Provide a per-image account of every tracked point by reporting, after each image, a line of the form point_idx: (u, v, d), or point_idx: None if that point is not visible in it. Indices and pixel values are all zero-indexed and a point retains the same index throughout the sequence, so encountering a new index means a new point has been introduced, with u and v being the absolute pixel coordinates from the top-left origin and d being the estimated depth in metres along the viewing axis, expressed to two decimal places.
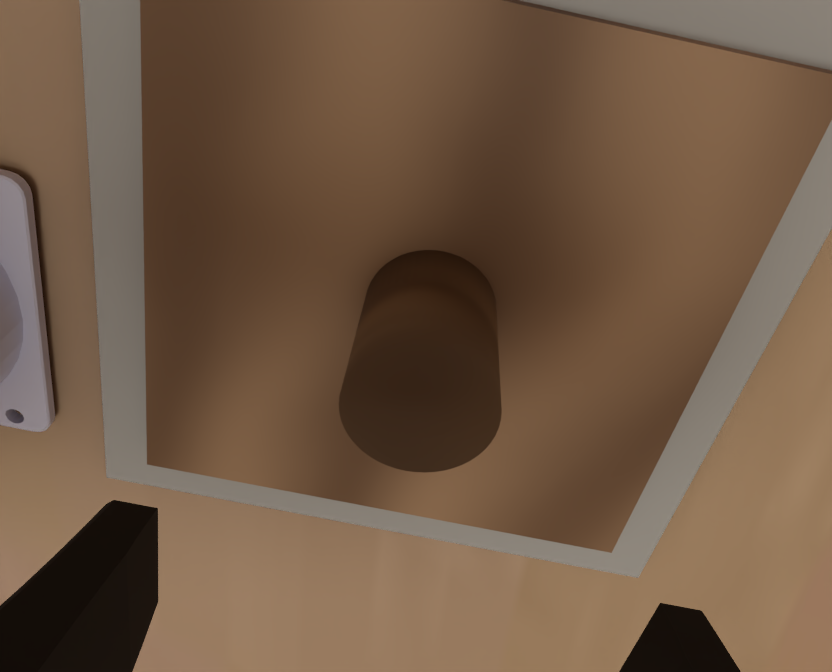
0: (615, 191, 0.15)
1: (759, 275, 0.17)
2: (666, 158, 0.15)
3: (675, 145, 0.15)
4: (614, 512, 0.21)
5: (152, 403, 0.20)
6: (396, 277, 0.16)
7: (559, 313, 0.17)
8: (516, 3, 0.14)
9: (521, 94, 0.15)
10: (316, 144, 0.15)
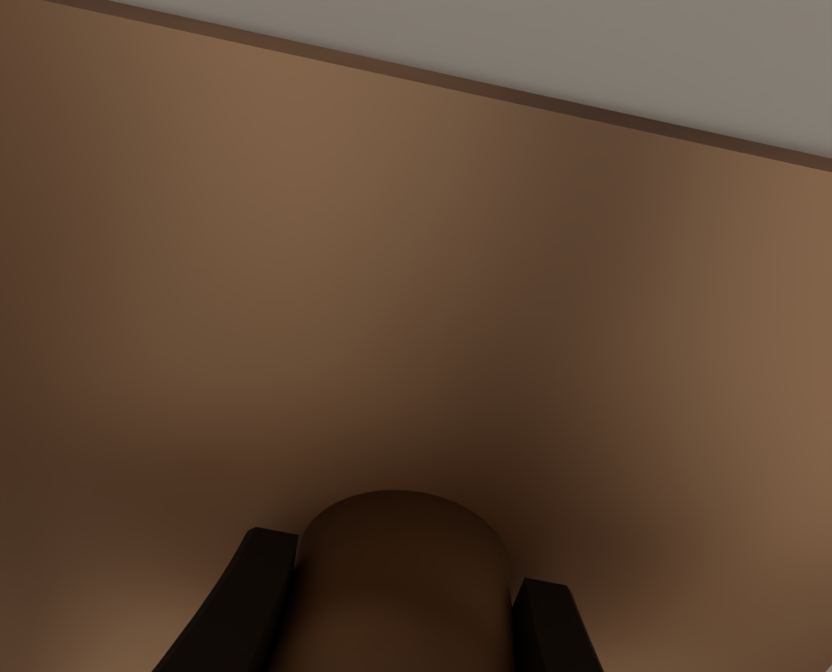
0: (719, 416, 0.09)
1: None
2: (816, 370, 0.08)
3: None
4: None
5: None
6: (340, 558, 0.09)
7: (612, 578, 0.11)
8: (555, 110, 0.07)
9: (560, 266, 0.08)
10: (198, 336, 0.09)
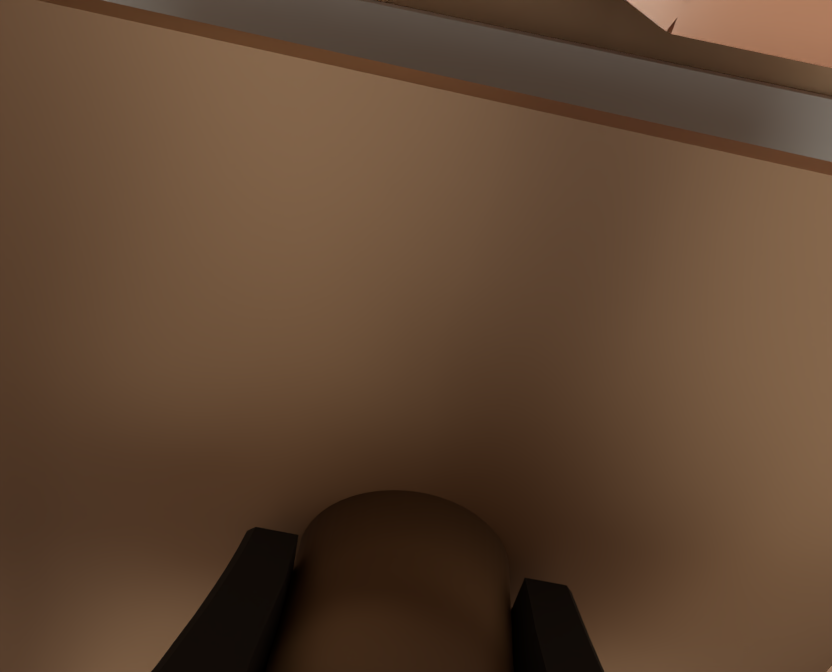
0: (718, 418, 0.09)
1: None
2: (815, 373, 0.08)
3: None
4: None
5: None
6: (340, 557, 0.09)
7: (611, 579, 0.11)
8: (554, 113, 0.07)
9: (559, 268, 0.08)
10: (199, 336, 0.09)
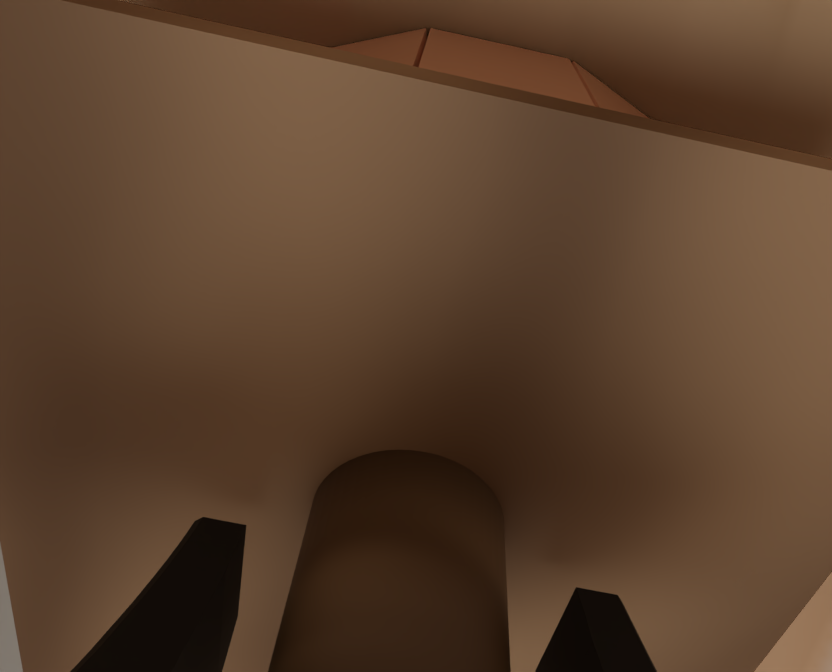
0: (691, 380, 0.10)
1: None
2: (775, 338, 0.10)
3: (790, 320, 0.09)
4: None
5: (22, 619, 0.14)
6: (351, 507, 0.10)
7: (597, 532, 0.12)
8: (542, 105, 0.08)
9: (548, 244, 0.09)
10: (225, 307, 0.10)
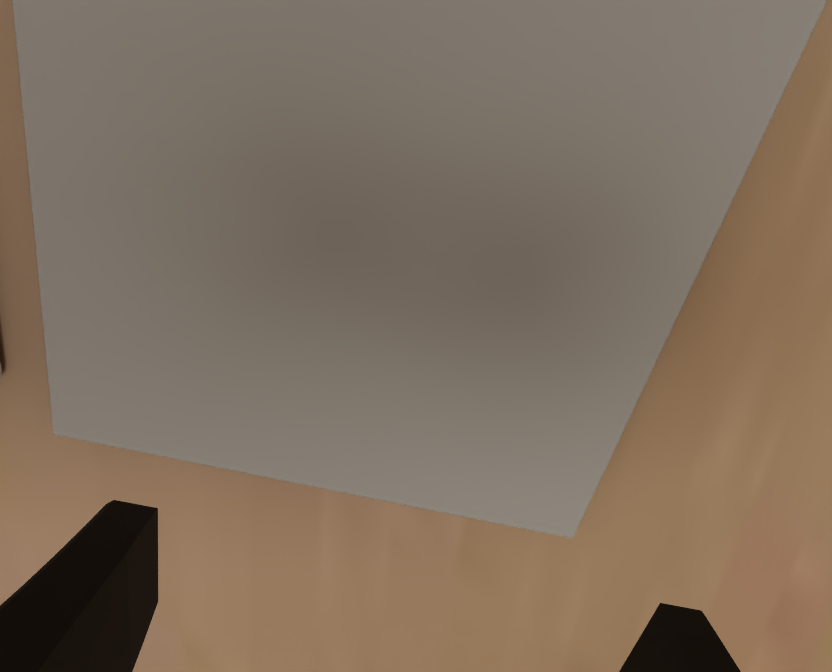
0: None
1: (672, 233, 0.18)
2: None
3: None
4: None
5: None
6: None
7: None
8: None
9: None
10: None
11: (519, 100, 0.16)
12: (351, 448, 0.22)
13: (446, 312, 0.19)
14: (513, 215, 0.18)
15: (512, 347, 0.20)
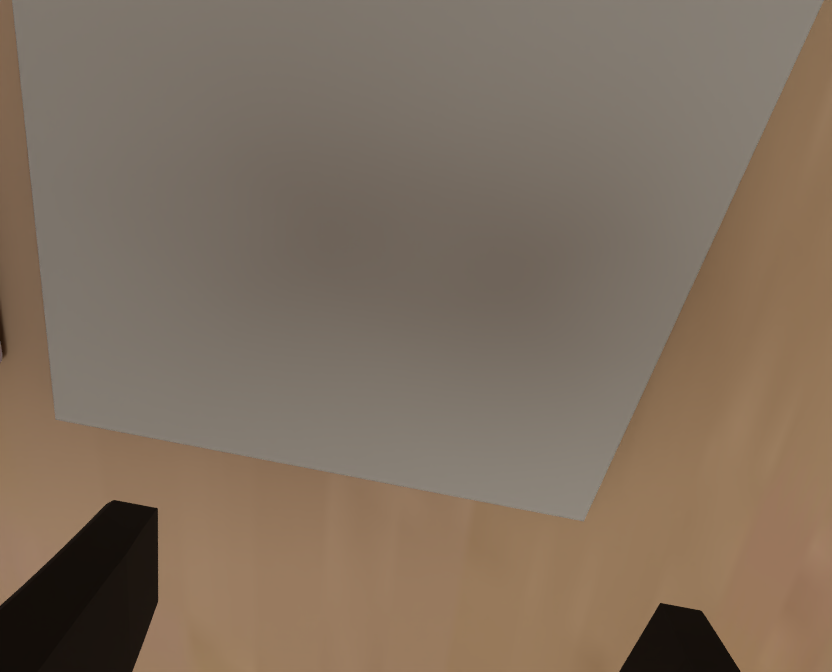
0: None
1: (685, 203, 0.17)
2: None
3: None
4: None
5: None
6: None
7: None
8: None
9: None
10: None
11: (528, 65, 0.16)
12: (358, 430, 0.22)
13: (454, 288, 0.19)
14: (522, 185, 0.17)
15: (521, 323, 0.19)
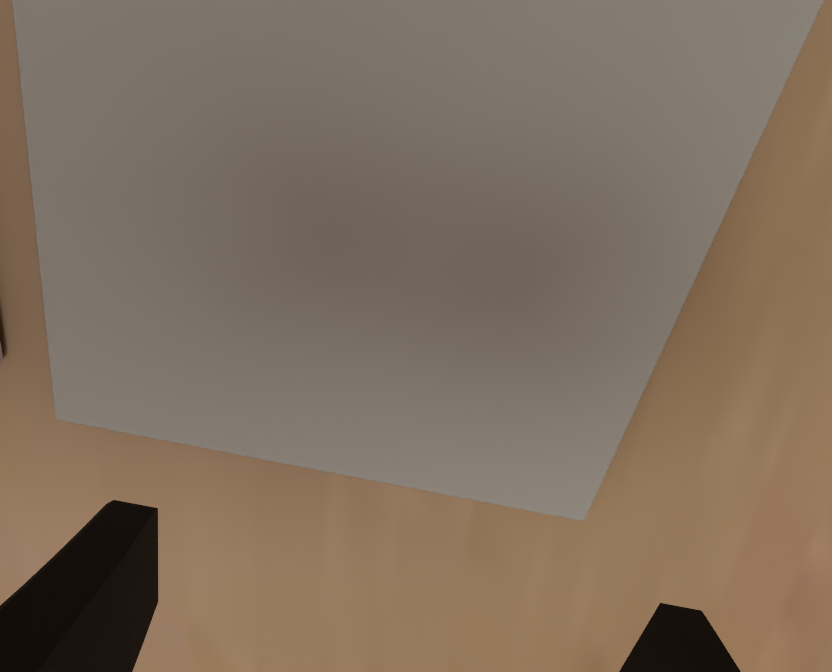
0: None
1: (685, 203, 0.17)
2: None
3: None
4: None
5: None
6: None
7: None
8: None
9: None
10: None
11: (528, 65, 0.16)
12: (358, 430, 0.22)
13: (454, 288, 0.19)
14: (522, 185, 0.17)
15: (521, 323, 0.19)
